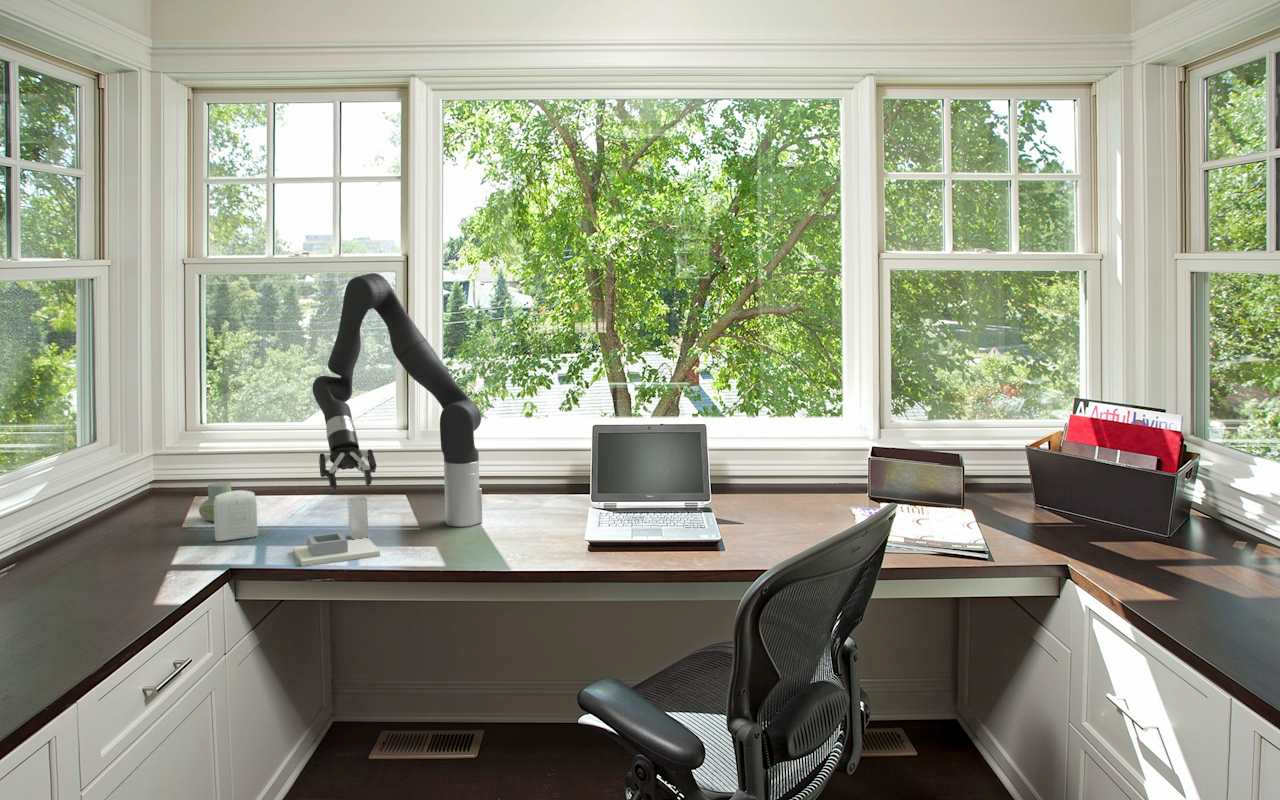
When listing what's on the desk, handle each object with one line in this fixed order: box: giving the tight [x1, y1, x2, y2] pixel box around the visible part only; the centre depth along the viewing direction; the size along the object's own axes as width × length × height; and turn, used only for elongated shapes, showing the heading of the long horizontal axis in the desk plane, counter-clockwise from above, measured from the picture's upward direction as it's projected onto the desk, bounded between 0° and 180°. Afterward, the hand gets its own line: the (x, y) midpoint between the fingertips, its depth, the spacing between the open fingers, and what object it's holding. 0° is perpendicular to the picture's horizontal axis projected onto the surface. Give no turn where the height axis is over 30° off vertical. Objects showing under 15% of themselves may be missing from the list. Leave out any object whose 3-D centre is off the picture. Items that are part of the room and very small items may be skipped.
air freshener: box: [198, 481, 232, 523], centre depth 266 cm, size 11×8×10 cm
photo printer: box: [213, 489, 259, 542], centre depth 247 cm, size 10×4×12 cm, turn 123°
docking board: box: [292, 531, 381, 567], centre depth 234 cm, size 18×13×4 cm
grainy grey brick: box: [347, 496, 369, 540], centre depth 249 cm, size 4×4×10 cm
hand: (351, 486), depth 254 cm, fingers open, 8 cm apart
